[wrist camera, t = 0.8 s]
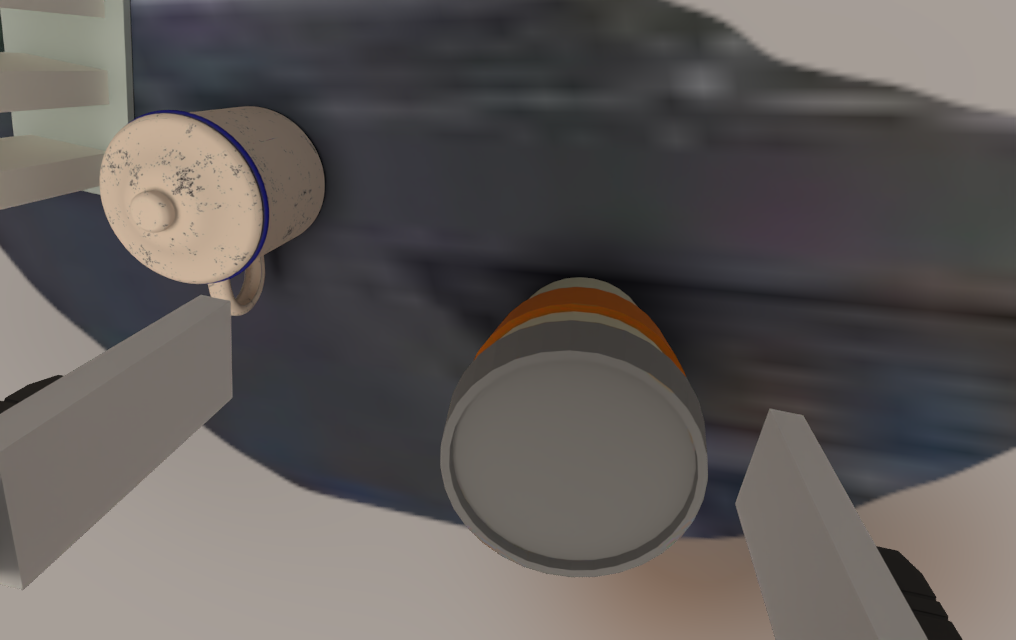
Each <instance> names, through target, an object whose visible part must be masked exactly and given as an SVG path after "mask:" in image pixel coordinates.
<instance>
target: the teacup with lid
mask: <svg viewBox="0 0 1016 640" xmlns="http://www.w3.org/2000/svg"><path fill="white" fill-rule="evenodd" d="M99 180H100V195H101V200H102V204H103V208H104V211H105V214H106V216H107V219H108V221H109V223H110V225H111V227H112V229H113V231H114V232H115V234H116V236H117V237H118V238H119V240H120V241H121V243H122V244H123V245H124V246H125V248H126V249H127V250H128V251H129V252H130V253H131V254H132V255H133V256H134V257H135V258H136V259H137V260H139V261H140V262H141V263H142V264H144V265H145V266H147V267H148V268H150V269H151V270H153V271H155V272H157V273H158V274H161V275H163V276H165V277H167V278H170V279H173V280H176V281H180V282H185V283H192V284H208V287H209V291H210V295H211V297H214V298H219V299H224V300H229V301H231V315H243V314H245V313H247V312H248V311H250V310H251V309H252V308H253V306H254V305H255V304H256V302H257V301H258V299H259V297H260V294H261V292H262V289H263V285H264V279H265V263H264V255H265V254H266V253H268V252H270V251H272V250H274V249H275V248H277V247H279V246H281V245H283V244H284V243H286V242H288V241H290V240H291V239H293V238H295V237H297V236H298V235H300V234H301V233H303V232H304V231H305V230H306V229H308V227H309V226H310V225H311V224H312V223H313V222H314V220H315V219H316V217H317V215H318V214H319V211H320V209H321V206H322V203H323V199H324V192H325V180H324V172H323V167H322V164H321V161H320V158H319V156H318V153H317V151H316V149H315V147H314V146H313V144H312V142H311V141H310V140H309V138H308V137H307V136H306V134H305V133H304V132H303V131H302V130H301V129H300V128H299V127H298V126H297V125H296V124H295V123H293V122H292V121H291V120H289V119H288V118H286V117H285V116H283V115H281V114H279V113H277V112H275V111H272V110H269V109H266V108H261V107H255V106H244V107H234V108H225V109H216V110H207V111H198V112H185V111H178V110H160V111H154V112H150V113H147V114H144V115H141V116H139V117H137V118H135V119H134V120H132V121H130V122H129V123H128V124H127V125H125V126H124V127H123V128H122V129H121V130H120V131H119V132H118V133H117V134H116V135H115V136H114V138H113V139H112V140H111V142H110V144H109V145H108V147H107V149H106V152H105V154H104V157H103V160H102V164H101V169H100V179H99ZM244 270H245V277H244V283H243V286H242V289H241V291H240V293H239V295H238V296H237V298H236V299H235V298H234V295H233V292H232V289H231V284H230V279H231V278H233V277H235V276H237V275H238V274H240V273H241V272H243V271H244Z"/></svg>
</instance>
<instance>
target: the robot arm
mask: <svg viewBox="0 0 1016 640" xmlns="http://www.w3.org/2000/svg"><path fill="white" fill-rule="evenodd" d="M231 398H232V352H231V301H229V300H224V299H219V298H214V297H209V296H204V295H200V296H198V297H197V298H195V299H193V300H192V301H190V302H188V303H186V304H185V305H183V306H181V307H180V308H178V309H176V310H175V311H173V312H171V313H170V314H168V315H166V316H165V317H163V318H161V319H159V320H158V321H156V322H154V323H153V324H151V325H149V326H148V327H146V328H144V329H143V330H141V331H139V332H138V333H136V334H134V335H132V336H131V337H129V338H127V339H126V340H124V341H122V342H121V343H119V344H117V345H116V346H114V347H112V348H111V349H109V350H107V351H105V352H104V353H102V354H100V355H99V356H97V357H95V358H94V359H92V360H90V361H89V362H87V363H85V364H84V365H82V366H80V367H78V368H77V369H75V370H73V371H72V372H70V373H68V374H67V375H65V376H62V375H57V376H54V377H51V378H47V379H44V380H41V381H38V382H35V383H32V384H29V385H27V386H25V387H24V388H22V389H20V390H18V391H17V392H15V393H13V394H11V395H10V396H8V397H6V398H5V400H4V401H0V585H4V586H8V587H13V588H17V589H21V590H24V589H25V588H26V587H27V586H28V585H29V584H30V583H31V582H33V580H35V579H36V578H37V577H38V576H39V575H40V574H41V573H42V572H43V571H44V570H45V569H47V568H48V567H49V566H50V565H51V564H52V563H53V562H54V561H55V560H56V559H57V558H59V557H60V556H61V555H62V554H63V553H64V552H65V551H66V550H67V549H68V548H69V547H71V546H72V544H74V543H75V542H76V541H77V540H78V539H79V538H80V537H81V536H83V534H84V533H86V532H87V531H88V530H89V529H90V528H91V527H92V526H93V525H94V524H96V522H98V521H99V520H100V519H101V518H102V517H103V516H104V515H105V514H106V513H107V512H109V511H110V510H111V509H112V508H113V507H114V506H115V505H116V504H117V503H118V502H119V501H121V500H122V499H123V498H124V497H125V496H126V495H127V494H128V493H129V492H130V491H131V490H133V489H134V488H135V487H136V486H137V485H138V484H139V483H140V482H141V481H142V480H143V479H144V478H145V477H147V476H148V475H149V474H150V473H151V472H152V471H153V470H154V469H155V468H156V467H157V466H159V465H160V464H161V463H162V462H163V461H164V460H165V459H166V458H167V457H168V456H169V455H170V454H172V453H173V452H174V451H175V450H176V449H177V448H178V447H179V446H180V445H181V444H183V443H184V442H185V441H186V440H187V439H188V438H189V437H190V436H191V435H192V434H193V433H194V432H196V431H197V430H198V429H199V428H200V427H201V426H202V425H203V424H204V423H205V422H206V421H208V420H209V419H210V418H211V417H212V416H213V415H214V414H215V413H216V412H217V411H218V410H220V409H221V408H222V407H223V406H224V405H225V404H226V403H227V402H228V401H229V400H230V399H231ZM735 505H736V508H737V511H738V515H739V518H740V522H741V525H742V528H743V532H744V535H745V538H746V542H747V545H748V549H749V552H750V555H751V559H752V562H753V565H754V569H755V572H756V576H757V579H758V583H759V586H760V589H761V593H762V596H763V599H764V603H765V606H766V609H767V613H768V616H769V620H770V623H771V626H772V630H773V633H774V637H775V640H962V638H961V636H960V635H959V633H958V632H957V630H956V628H955V627H954V625H953V624H952V622H950V621H948V615H947V614H946V612H945V610H944V609H943V607H942V606H941V604H940V602H937V601H936V596H935V594H934V593H933V591H932V589H931V588H930V586H929V584H928V583H927V581H926V580H925V578H924V576H923V575H922V573H920V571H919V570H917V569H916V568H915V567H914V566H913V565H912V564H911V563H910V562H909V561H908V560H907V559H906V558H905V557H904V556H903V555H902V554H901V553H900V552H898V551H896V550H891V549H887V548H882V547H877V546H876V545H875V544H874V542H873V540H872V538H871V537H870V535H869V533H868V531H867V529H866V527H865V526H864V524H863V522H862V521H861V519H860V517H859V515H858V513H857V511H856V510H855V508H854V506H853V504H852V502H851V501H850V499H849V497H848V495H847V493H846V492H845V490H844V488H843V486H842V484H841V483H840V481H839V479H838V477H837V475H836V474H835V472H834V470H833V468H832V466H831V465H830V463H829V461H828V459H827V457H826V456H825V454H824V452H823V450H822V448H821V447H820V445H819V443H818V441H817V439H816V438H815V436H814V434H813V432H812V431H811V429H810V427H809V425H808V423H807V422H806V420H805V418H804V416H803V415H799V414H794V413H789V412H784V411H779V410H774V409H769V412H768V415H767V417H766V420H765V423H764V426H763V428H762V431H761V434H760V437H759V439H758V442H757V445H756V448H755V450H754V453H753V456H752V459H751V461H750V464H749V467H748V470H747V472H746V475H745V478H744V481H743V483H742V486H741V489H740V492H739V494H738V497H737V500H736V503H735Z"/></svg>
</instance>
